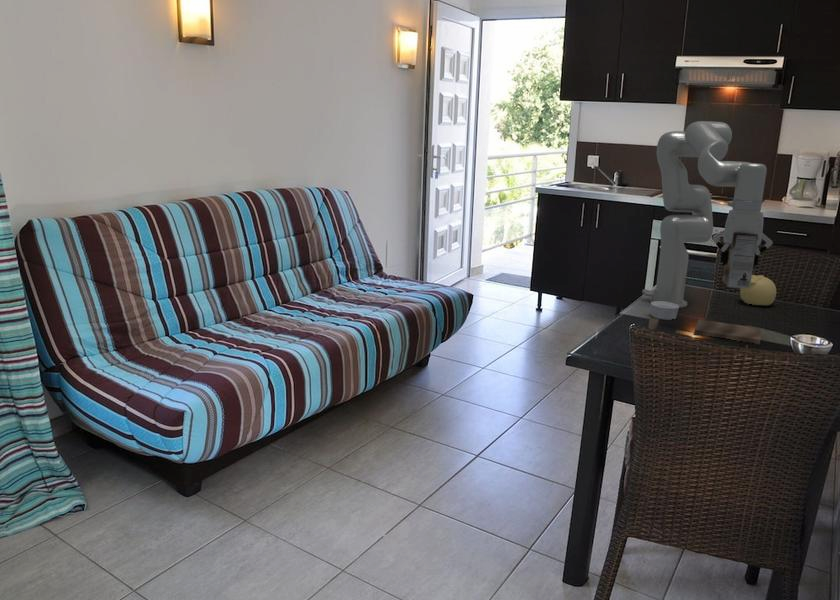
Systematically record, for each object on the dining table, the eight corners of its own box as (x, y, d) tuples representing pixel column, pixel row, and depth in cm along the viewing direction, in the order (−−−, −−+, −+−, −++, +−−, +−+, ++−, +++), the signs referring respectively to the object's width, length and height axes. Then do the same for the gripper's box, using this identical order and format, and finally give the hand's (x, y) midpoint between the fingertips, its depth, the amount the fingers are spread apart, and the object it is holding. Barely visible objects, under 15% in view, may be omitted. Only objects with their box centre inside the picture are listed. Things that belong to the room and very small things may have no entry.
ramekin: (678, 316, 231) (680, 303, 230) (676, 322, 223) (678, 309, 222) (651, 312, 235) (652, 299, 234) (647, 318, 227) (649, 305, 226)
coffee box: (721, 281, 212) (728, 229, 209) (743, 283, 211) (751, 230, 208) (727, 287, 204) (735, 232, 200) (751, 289, 203) (759, 234, 199)
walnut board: (693, 334, 209) (694, 329, 209) (698, 323, 222) (698, 319, 221) (759, 344, 202) (760, 339, 201) (760, 332, 214) (761, 328, 214)
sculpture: (741, 298, 259) (745, 270, 257) (776, 304, 253) (781, 275, 250) (734, 304, 250) (739, 275, 248) (770, 310, 244) (775, 280, 241)
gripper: (713, 205, 203) (706, 264, 207) (780, 209, 195) (770, 271, 199) (715, 203, 209) (708, 261, 213) (780, 207, 202) (770, 267, 206)
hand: (738, 265), depth 206 cm, fingers closed on coffee box, 7 cm apart
